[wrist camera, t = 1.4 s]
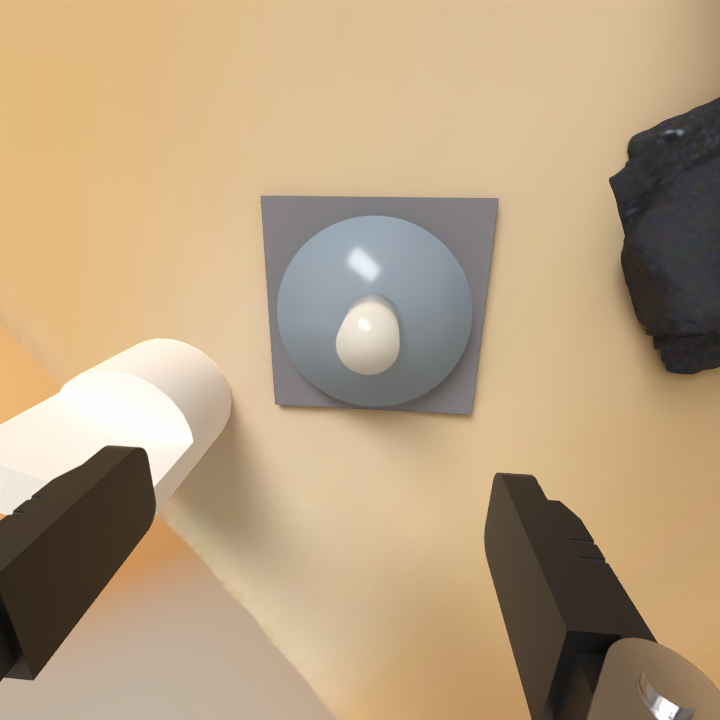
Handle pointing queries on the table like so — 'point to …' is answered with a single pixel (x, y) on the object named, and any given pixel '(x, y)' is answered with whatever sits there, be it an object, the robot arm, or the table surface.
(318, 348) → the lid
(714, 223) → the dark slate chunk
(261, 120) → the table surface
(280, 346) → the mat
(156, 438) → the white cylinder
